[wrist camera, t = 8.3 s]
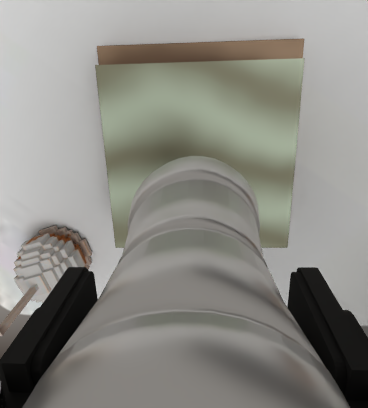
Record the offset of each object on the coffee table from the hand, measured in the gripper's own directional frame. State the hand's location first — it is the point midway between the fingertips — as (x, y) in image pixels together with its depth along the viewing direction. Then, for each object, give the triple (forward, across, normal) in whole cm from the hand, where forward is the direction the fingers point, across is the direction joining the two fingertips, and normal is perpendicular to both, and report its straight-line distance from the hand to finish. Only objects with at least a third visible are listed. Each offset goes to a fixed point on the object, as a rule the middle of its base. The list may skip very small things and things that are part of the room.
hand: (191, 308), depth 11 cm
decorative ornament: (+29, +18, +14) cm, 37 cm away
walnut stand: (+29, 0, 0) cm, 29 cm away
